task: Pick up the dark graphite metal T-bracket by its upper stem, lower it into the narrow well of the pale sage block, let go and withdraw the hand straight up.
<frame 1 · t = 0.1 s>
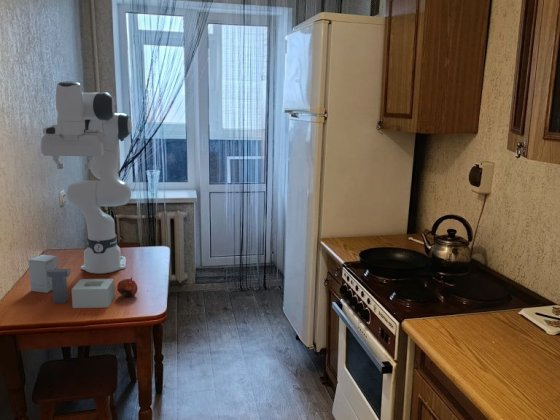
hand: (74, 168, 166), 48 cm above the table, tool pointing down, fingers open, 8 cm apart
supplement box: (45, 289, 181), on the table
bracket: (60, 301, 170), on the table
pomegranate: (127, 297, 176), on the table
well block: (94, 302, 170), on the table
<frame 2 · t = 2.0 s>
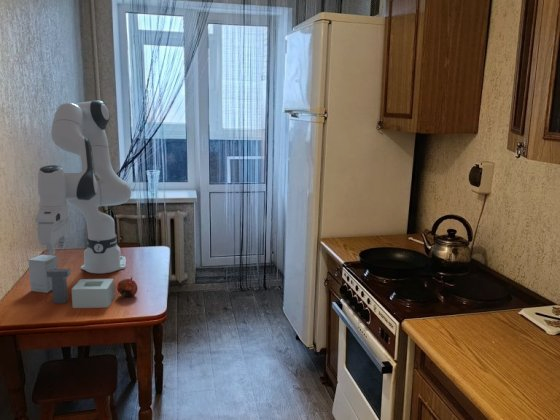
hand: (56, 250, 165), 19 cm above the table, tool pointing down, fingers open, 8 cm apart
nothing on the table moved.
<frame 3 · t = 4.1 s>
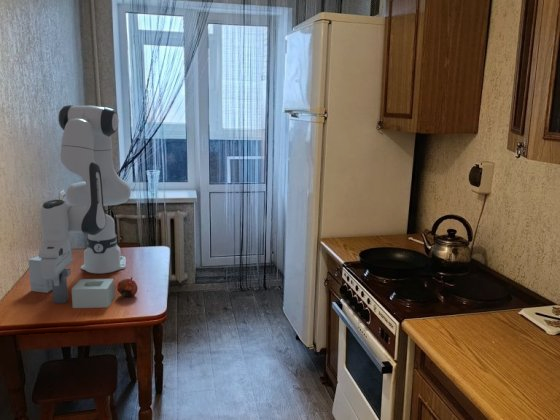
hand: (59, 283, 168), 7 cm above the table, tool pointing down, fingers closed on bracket, 3 cm apart
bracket: (60, 301, 170), on the table, touching gripper
everything else where it was.
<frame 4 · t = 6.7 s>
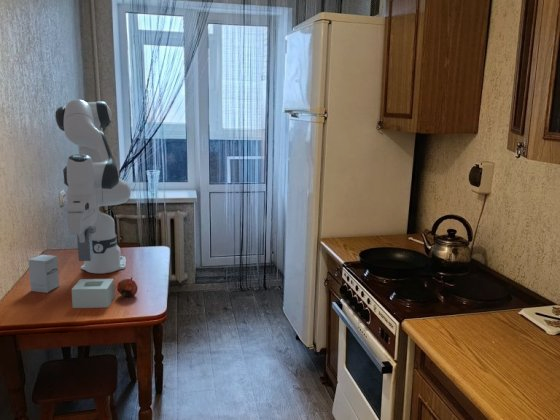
hand: (84, 240, 165), 23 cm above the table, tool pointing down, fingers closed on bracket, 3 cm apart
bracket: (86, 259, 167), point 16 cm above the table, touching gripper
everything else where it was.
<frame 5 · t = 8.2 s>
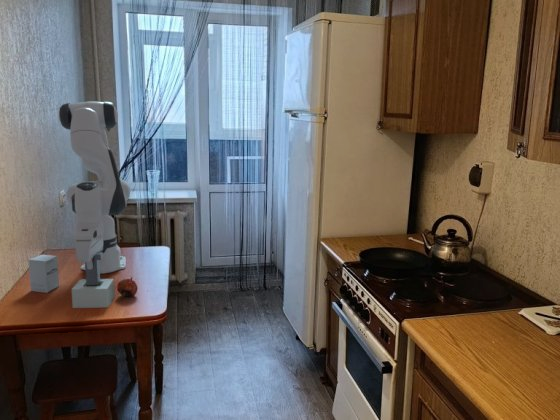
hand: (92, 266, 167), 14 cm above the table, tool pointing down, fingers closed on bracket, 3 cm apart
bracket: (93, 285, 169), point 6 cm above the table, touching gripper
everything else where it was.
when the fingers open (10 cm above the table, at t = 9.6 s): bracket drops 1 cm, resting on well block.
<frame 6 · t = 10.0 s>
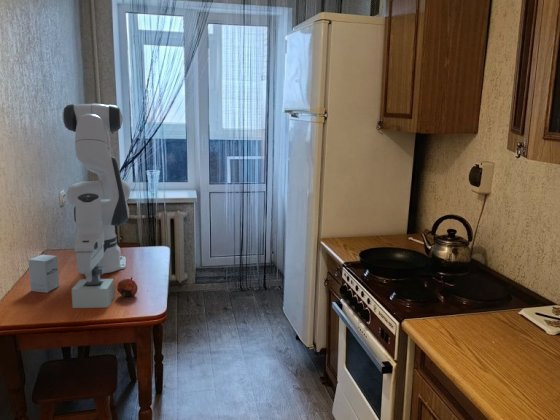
hand: (92, 277, 168), 10 cm above the table, tool pointing down, fingers open, 7 cm apart
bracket: (94, 299, 170), point 1 cm above the table, touching well block
everything else where it was.
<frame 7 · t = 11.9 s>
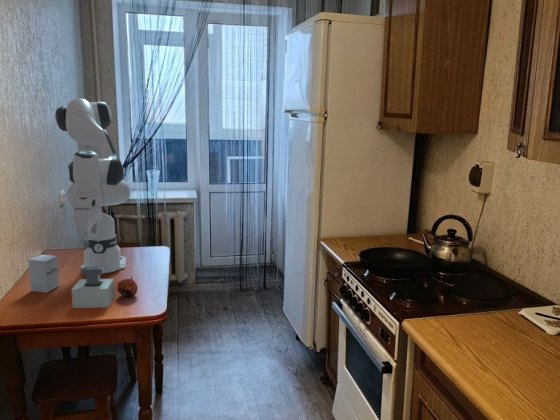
hand: (90, 236, 165), 25 cm above the table, tool pointing down, fingers open, 8 cm apart
nothing on the table moved.
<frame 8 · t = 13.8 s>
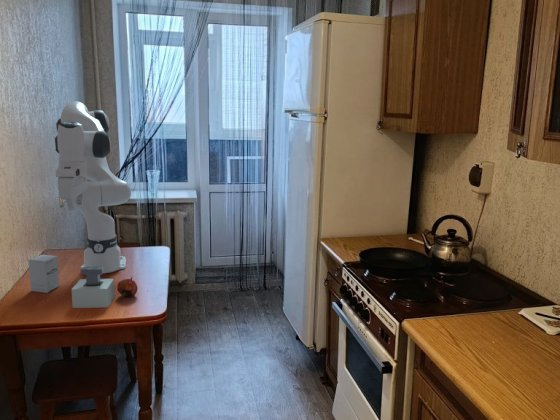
hand: (75, 207, 167), 34 cm above the table, tool pointing down, fingers open, 8 cm apart
nothing on the table moved.
at the end: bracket 0.1 cm off-centre on the well block, point 1.0 cm above the well block's base; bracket tilted 0°; the gripper is holding nothing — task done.
